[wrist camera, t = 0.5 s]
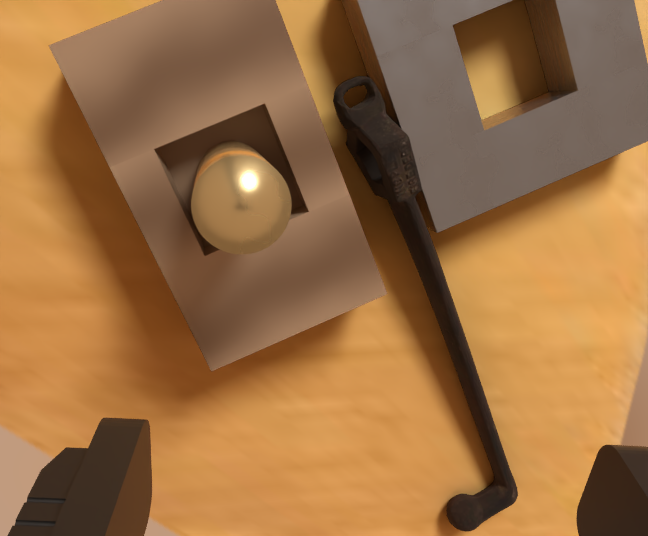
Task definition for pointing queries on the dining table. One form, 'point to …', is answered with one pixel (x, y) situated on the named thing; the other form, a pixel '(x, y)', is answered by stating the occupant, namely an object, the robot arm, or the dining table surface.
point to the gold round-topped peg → (239, 199)
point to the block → (517, 122)
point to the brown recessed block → (196, 139)
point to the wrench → (425, 277)
